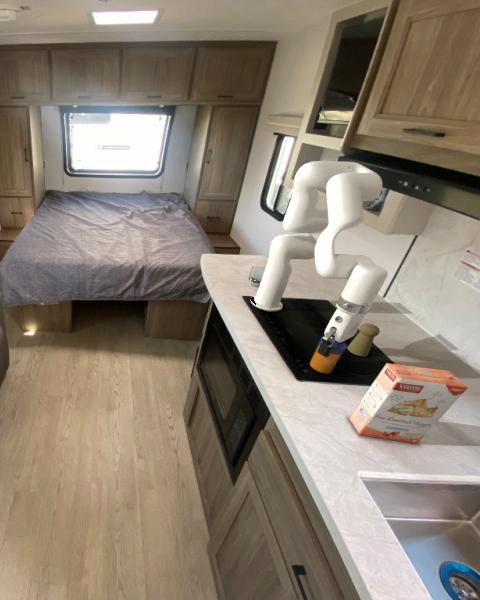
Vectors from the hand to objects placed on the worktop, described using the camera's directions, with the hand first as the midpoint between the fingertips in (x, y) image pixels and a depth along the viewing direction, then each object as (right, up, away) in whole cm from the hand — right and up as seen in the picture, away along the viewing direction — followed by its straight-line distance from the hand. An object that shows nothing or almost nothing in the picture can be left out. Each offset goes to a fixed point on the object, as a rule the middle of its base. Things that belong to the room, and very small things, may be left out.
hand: (329, 351), depth 106 cm
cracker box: (0, -19, -18) cm, 26 cm away
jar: (0, -6, +4) cm, 7 cm away
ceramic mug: (+7, +25, +57) cm, 63 cm away
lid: (0, +3, -2) cm, 3 cm away
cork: (+19, -2, +11) cm, 22 cm away
